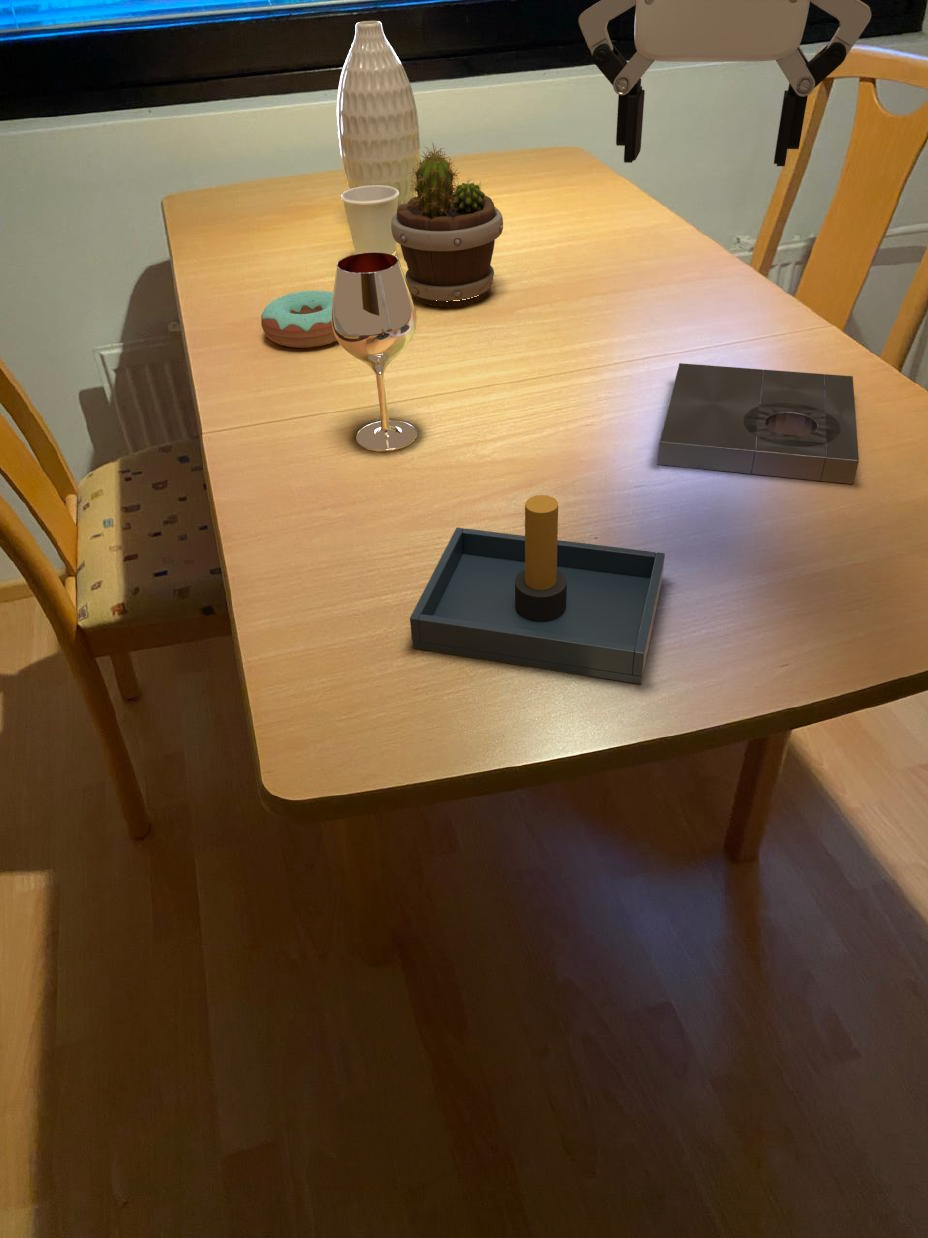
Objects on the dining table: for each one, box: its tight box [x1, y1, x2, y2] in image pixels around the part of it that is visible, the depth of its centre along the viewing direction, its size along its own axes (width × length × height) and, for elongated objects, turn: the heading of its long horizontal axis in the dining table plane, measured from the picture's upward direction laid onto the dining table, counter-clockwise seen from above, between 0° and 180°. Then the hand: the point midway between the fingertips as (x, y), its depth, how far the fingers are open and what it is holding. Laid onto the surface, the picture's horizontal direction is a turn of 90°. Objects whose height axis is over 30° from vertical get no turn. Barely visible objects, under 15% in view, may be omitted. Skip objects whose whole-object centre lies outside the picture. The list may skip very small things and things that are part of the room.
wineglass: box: [331, 252, 418, 453], centre depth 91 cm, size 8×8×18 cm
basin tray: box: [409, 527, 666, 685], centre depth 73 cm, size 17×12×3 cm
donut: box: [260, 290, 338, 349], centre depth 118 cm, size 12×12×4 cm
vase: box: [336, 20, 421, 207], centre depth 145 cm, size 13×13×28 cm
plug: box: [515, 494, 567, 622], centre depth 70 cm, size 4×4×10 cm
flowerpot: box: [391, 141, 504, 308], centre depth 121 cm, size 14×15×20 cm
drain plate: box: [656, 362, 860, 485], centre depth 94 cm, size 18×18×2 cm
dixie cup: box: [340, 185, 399, 254], centre depth 135 cm, size 8×8×10 cm
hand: (704, 159), depth 62 cm, fingers open, 9 cm apart
